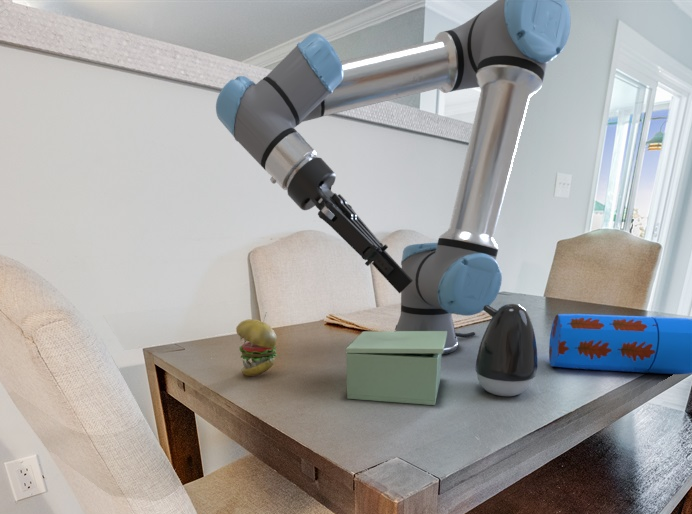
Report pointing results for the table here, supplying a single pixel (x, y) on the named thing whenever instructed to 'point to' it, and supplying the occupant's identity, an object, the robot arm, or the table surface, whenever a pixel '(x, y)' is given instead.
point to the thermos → (621, 343)
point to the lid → (399, 342)
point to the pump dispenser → (507, 352)
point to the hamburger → (257, 346)
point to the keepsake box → (394, 377)
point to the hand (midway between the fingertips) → (406, 286)
